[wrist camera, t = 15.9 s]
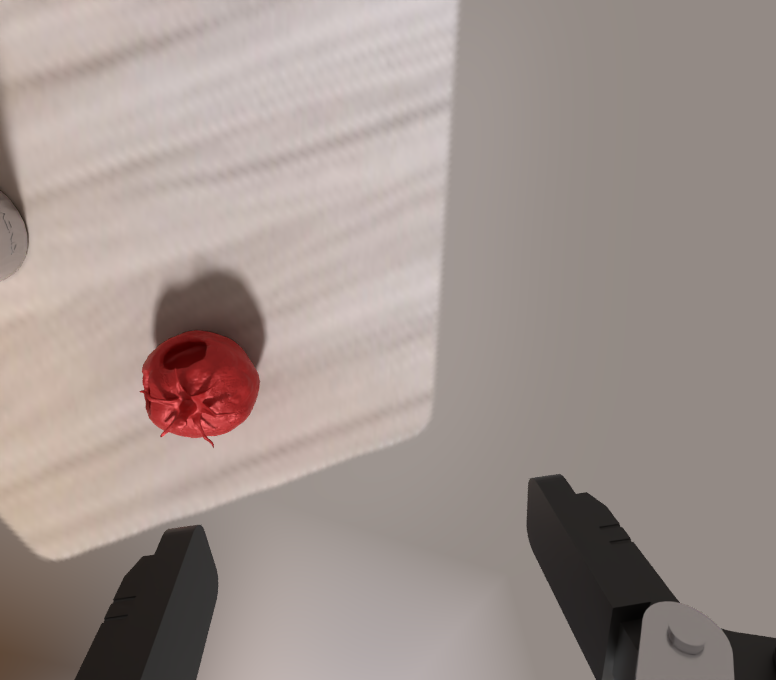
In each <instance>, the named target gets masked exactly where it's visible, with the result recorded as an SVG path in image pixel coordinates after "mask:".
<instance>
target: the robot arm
mask: <svg viewBox="0 0 776 680" xmlns="http://www.w3.org/2000/svg"><path fill="white" fill-rule="evenodd" d="M27 248H28V240H27V232H26V228H25V224H24V222H23V220H22V218H21V216H20V214H19V212H18V210H17V209H16V207H15V206H14V205H13V203H12V202H11V201H10V199H9V198H8V197H7V196H6V195H5V194H4V193H3V192H2V191H0V281H2V280H4V279H6V278H8V277H9V276H11V275H12V274H14V273H15V272H16V271H17V270H18V269H19V268H20V266H21V265H22V263H23V261H24V259H25V257H26V252H27ZM527 533H528V538H529V542H530V545H531V548H532V550H533V553H534V555H535V557H536V559H537V561H538V563H539V565H540V567H541V569H542V571H543V573H544V575H545V577H546V579H547V581H548V583H549V585H550V587H551V589H552V591H553V593H554V595H555V597H556V599H557V601H558V603H559V605H560V607H561V609H562V612H563V614H564V616H565V618H566V619H567V621H568V624H569V626H570V628H571V630H572V632H573V634H574V636H575V638H576V640H577V642H578V644H579V646H580V648H581V650H582V652H583V654H584V656H585V658H586V660H587V662H588V664H589V666H590V668H591V670H592V672H593V674H594V676H595V678H596V680H776V638H771V637H765V636H758V635H751V634H745V633H737V632H732V631H728V630H724V629H721V628H720V627H719V626H718V625H717V624H716V623H715V622H714V621H713V620H711V619H710V618H709V617H708V616H706V615H705V614H703V613H702V612H700V611H698V610H697V609H695V608H693V607H690V606H688V605H685V604H682V603H680V602H679V601H678V600H677V599H676V597H675V596H674V595H673V594H672V592H671V591H670V590H669V588H668V587H667V586H666V584H665V583H664V582H663V580H662V579H661V578H660V576H659V575H658V574H657V572H656V571H655V570H654V569H653V567H652V566H651V565H650V563H649V562H648V561H647V559H646V558H645V557H644V555H643V554H642V553H641V551H640V550H639V549H638V547H637V546H636V545H635V544H634V542H631V539H630V537H629V536H628V534H627V533H626V532H625V530H624V529H623V528H622V527H620V525H619V522H618V521H617V520H616V519H615V517H614V516H613V514H612V513H611V512H610V511H609V509H608V508H607V507H606V506H605V505H604V504H602V503H601V502H600V501H598V500H596V499H595V498H594V497H593V496H591V495H590V494H588V493H587V492H586V493H579V494H575V492H574V491H573V489H572V488H571V486H570V485H569V483H568V482H567V481H566V479H565V478H564V477H563V476H562V475H561V474H556V475H549V476H542V477H535V478H531V479H530V480H529V483H528V503H527ZM217 594H218V574H217V569H216V566H215V563H214V560H213V556H212V554H211V550H210V547H209V544H208V540H207V537H206V534H205V531H204V529H203V527H202V526H201V525H194V526H187V527H180V528H173V529H168V530H166V531H165V532H164V534H163V536H162V538H161V541H160V543H159V545H158V548H157V550H156V552H155V554H154V555H150V556H143V557H142V558H141V559H140V560H139V561H138V562H137V563H136V565H135V566H134V567H133V568H132V569H131V570H130V571H129V572H128V573H127V574H126V575H125V577H124V578H123V581H122V582H121V585H120V587H119V589H118V591H117V593H116V595H115V597H114V599H113V600H114V602H113V604H111V605H110V607H109V609H108V612H107V614H106V616H105V618H104V619H105V621H104V623H102V624H101V626H100V628H99V630H98V632H97V635H96V636H95V638H94V641H93V643H92V645H91V647H90V649H89V651H88V653H87V655H86V657H85V659H84V661H83V663H82V665H81V668H80V670H79V672H78V674H77V676H76V678H75V680H196V678H197V674H198V670H199V666H200V663H201V658H202V654H203V651H204V646H205V643H206V639H207V635H208V631H209V627H210V623H211V619H212V615H213V612H214V607H215V604H216V600H217Z"/></svg>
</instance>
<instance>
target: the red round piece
mask: <svg viewBox="0 0 776 680" xmlns="http://www.w3.org/2000/svg"><path fill="white" fill-rule="evenodd" d="M142 373H143V385H144V390H143V391H140V392H142V393H144V397H145V400H146V410H147V413H148V416H149V418H150V420H151V421H152V422H153V423H154V424H155V425H156V426H158V427H159V428H161V429H162V430H165V431H164V432H163V433H162V434H161V436H160V437H162V436H164V435H165V434H166V433H168V432H171V433H173V434H176V435H180V436H184V437H191V438H200V437H203V438H204V439H205V440H207V441H208V442H210V443H211V444H212V446H213V448H214V444H213V442H212V441H211V440H210V439H208V438H207V437H206V436H217V435H221V434H225V433H227V432H229V431H231V430H233V429H234V428H236V427H237V426H238V425H240V424H241V423H242V422H243V421H245V420H246V419H247V417H248V416H249V415H250V413H251V411H252V409H253V406H254V404H255V402H256V398H257V396H258V391H259V384H260V380H259V375H258V372H257V370H256V369H255V367H254V365H253V364H252V362H251V361H250V359H249V358H248V356H247V354H246V353H245V351H244V350H243V349H242V348H241V347H240V346H239V345H238V344H237V343H236V342H234V341H233V340H231V339H229V338H227V337H224V336H221V335H219V334H216V333H212V332H207V331H200V330H195V331H188V332H185V333H182V334H180V335H177V336H175V337H172V338H170V339H168V340H166V341H164V342H163V343H161V344H160V345H159V346H158V347H157V348H156V349H155V350H154V351H153V352H152V353H151V354H150V355H149V356H148V358H147V360H146V361H145V363H144V364H143V368H142Z"/></svg>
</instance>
